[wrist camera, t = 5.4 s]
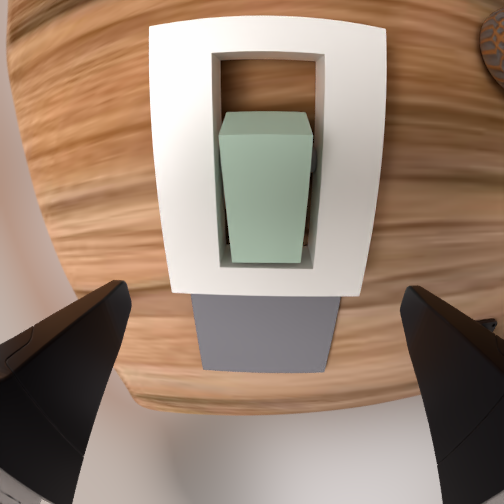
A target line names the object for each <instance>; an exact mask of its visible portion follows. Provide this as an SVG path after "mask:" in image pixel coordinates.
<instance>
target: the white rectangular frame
mask: <svg viewBox="0 0 504 504" xmlns="http://www.w3.org/2000/svg"><path fill="white" fill-rule="evenodd" d="M241 59H280V60H302V61H316V94H315V134H314V147H312V157H311V169H310V172H313V178H312V195H311V210H310V223H309V236H308V246H303V247H302V255H301V263H235V262H232V256H231V248H230V244H226V232H225V210H224V185H223V175H222V166H221V156H220V146H219V136H218V135H219V132H220V130H221V127H222V121H221V62H220V60H241ZM386 74H387V56H386V29H384V28H379V27H374V26H369V25H363V24H357V23H351V22H344V21H337V20H329V19H319V18H308V17H292V16H232V17H217V18H205V19H196V20H187V21H180V22H173V23H167V24H161V25H155V26H150V27H149V78H150V105H151V123H152V138H153V151H154V163H155V173H156V183H157V192H158V201H159V209H160V217H161V225H162V232H163V239H164V246H165V252H166V259H167V265H168V271H169V277H170V283H171V288H172V293H190V294H214V295H246V296H359V295H360V291H361V286H362V282H363V277H364V272H365V267H366V262H367V257H368V252H369V246H370V241H371V235H372V229H373V223H374V217H375V210H376V203H377V196H378V188H379V180H380V171H381V162H382V151H383V140H384V126H385V108H386Z"/></svg>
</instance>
